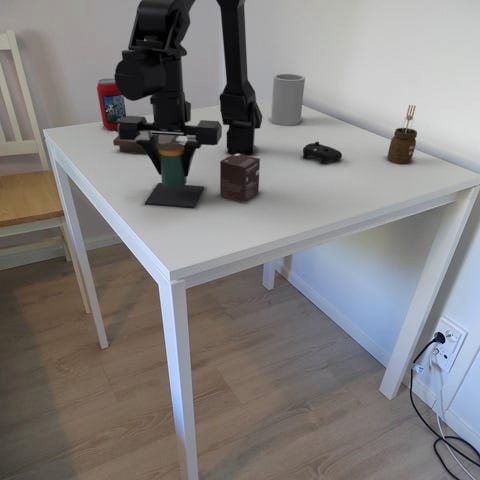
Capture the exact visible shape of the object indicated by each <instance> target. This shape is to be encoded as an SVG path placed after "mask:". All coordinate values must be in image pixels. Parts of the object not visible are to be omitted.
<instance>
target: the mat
mask: <svg viewBox="0 0 480 480" xmlns="http://www.w3.org/2000/svg"><path fill="white" fill-rule="evenodd" d="M204 188H205V187H204V186H203V185H192V184H191V185H190V184H185V185H183V186H181V187H167V186H164V185H163V184H162V182H158V183H157V185H155V187H154V188H153V190H152V191H151V193H150V194H149V196H148V197H147V199H145V201H144V205H147V206H158V207H159V206H162V207H170V208H171V207H174V208H184V209H185V208H186V209H195V208H196V205H197V204H198V202H199V199H200V197H201V195H202V193H203V191H204Z"/></svg>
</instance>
